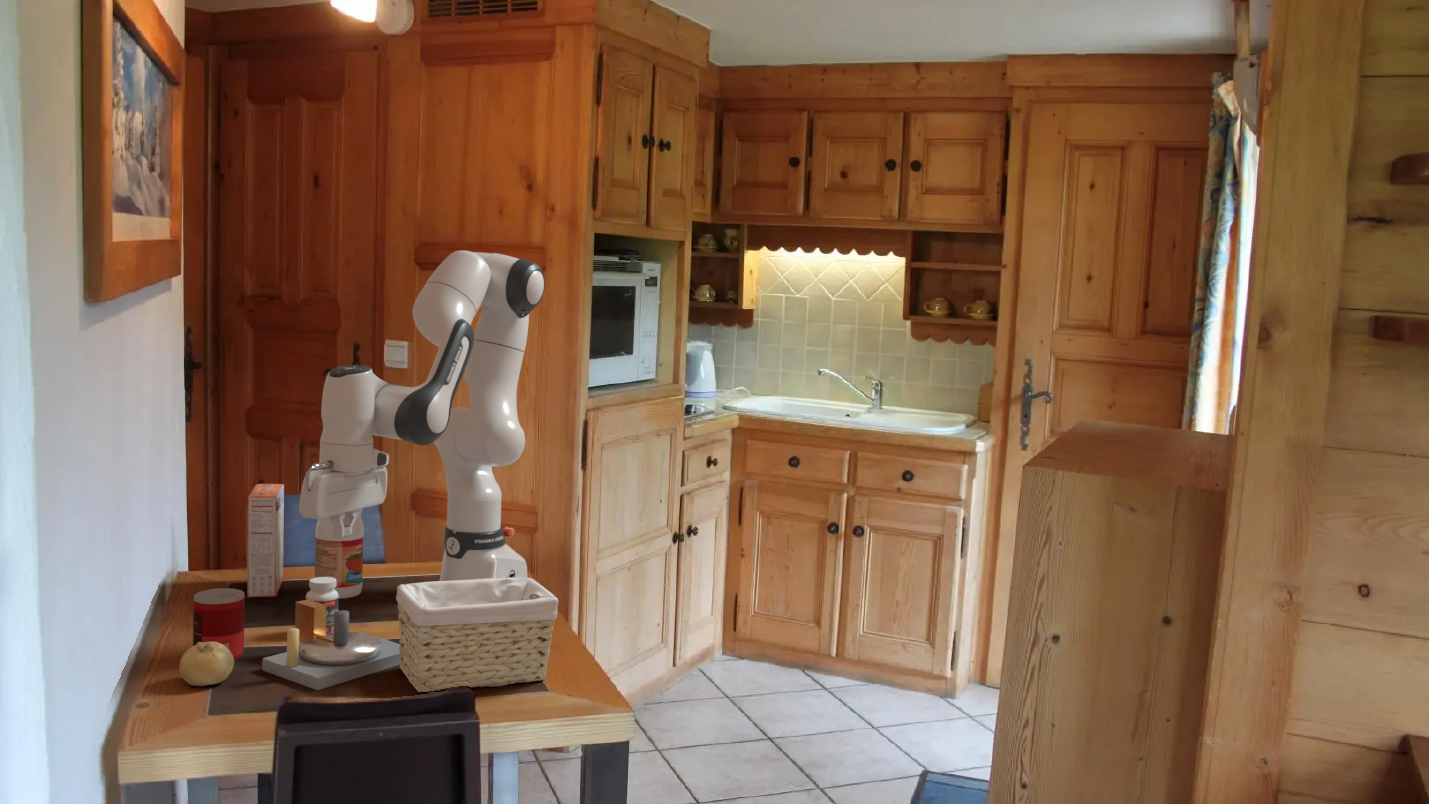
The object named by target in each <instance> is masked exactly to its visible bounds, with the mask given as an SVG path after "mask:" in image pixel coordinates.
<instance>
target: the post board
mask: <svg viewBox="0 0 1429 804" xmlns="http://www.w3.org/2000/svg"><path fill="white" fill-rule="evenodd" d="M349 627H350V611H349V610H345V609H343V610H341V609H340V610H338V611H335V612H334V639H333V643H334V644H337V645H343V644H347V643H348V639H349V632H350V628H349ZM357 633H365V632H363V631H358V632H357ZM365 634H367V633H365ZM286 635H287V637H286V651H285V652H281V653H277V654H274V655H271V656H266V657H263V658H262V662H261V663H262V665H261V666H262V668H261V671H264V672H266V673H269V674H271V675H274V676H277V677H280V678H282V679H285V680H287V681H291V682H294V683H297V684H298V685H302V686H303V687H307V688H310V689H313V690H315V691H321V690H324V689H326V688H329V687H333V686H336V685H340V684H342V683H346V682H349V681H352V680H355V679H358V678H361V677H365V676H368V675H371V674H374V673H378V672H381V671H384V670H387V669H390V668H393V667H397V666H400V643H397V642H394V641H391V640H388V639H385V638H381V637H378V636H376V637H377V638H379V639H380V640H381V652H380V654H379V655H378V656H377V657H375V658H373V659H371V660H368V661H365V662H360V663H355V664H347V665H323V664H315V663H311V662H308V661H305V660H303V659H302V658H301V657H300V642H299V629H298V628H295V627H291V628H287V632H286Z"/></svg>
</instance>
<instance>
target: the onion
mask: <svg viewBox="0 0 1429 804" xmlns="http://www.w3.org/2000/svg"><path fill="white" fill-rule="evenodd" d="M234 666H235V661H234V658H233V655H232V653H231V651H230V650H229V649H228V648H227V647H226V646H224V645H222V644H220V643H218V642H198V643H197V645H195V646H193V645H192V646H191V647H189V648H188V649H187V650H186V651H185V652H184V653H183V654H182V656H181V659H180V661H179V666H178V668H179V675H180V677H181V678H182V679H183V681H184V682H186V683H187V684H188V685H189V686H194V687H205V686H209V685H210V686H212V685H217V684H221V683H222V682H224V681H225V680H226V679H228V677H229V676H230V674H231V672H232V671H233V668H234Z"/></svg>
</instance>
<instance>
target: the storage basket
mask: <svg viewBox="0 0 1429 804" xmlns="http://www.w3.org/2000/svg"><path fill="white" fill-rule="evenodd" d="M534 580H535V579H533V578H531V577H527V578H489V579H474V580H456V581H439V580H435V581H422V582H413V583H412V582H411V583H405V584H403V583H401V584H398V586H397V588H396V595H395V596H396V597H395V600H396V601H397V610H398V628H399V629H398V630H399V632H398V633H399V640H398V641H399V643H398V644H400V665H399V669H400V670H401V672H402V673H403V674H404V675H405V677H406V678H407V679H408V682H409V683H410V684H411V685H412V686H413V688H415V690H416V692H417V693H420V692H429V691H435V690H440V689H445V688H450V687H458V686H469V687H470V688H477V687H480V688H484V687H502V686H507V685H509V684H510V685H512V684H517V683H530V682H536V681H537V682H539V681H544V680H545V679H546V677H547V670H548V663H549V658H550V652H551V649H550V647H551V645H552V638H553V631H554V625H555V621H556V619H557V617H558V606H559V599H558V597H556V596H555V595H554V594H553V593H552V592H550V591H549V590H548V589H546V587H544V586H542V585H541V583H538V581H536V580H535V581H534ZM429 693H430V692H429Z"/></svg>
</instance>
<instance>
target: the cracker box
mask: <svg viewBox="0 0 1429 804" xmlns="http://www.w3.org/2000/svg"><path fill="white" fill-rule="evenodd" d="M284 508H285V484H283V483H258V484H257V483H256V484H255V486H254V488H253V489H252V490H251V492H250V494H249V495H248V497H247V553H246V554H247V559H246V562H247V565H246V567H247V571H246V572H247V573H246V574H247V576H246V577H247V578H246V579H247V584H246V585H247V587H246V588H247V590H246V591H247V592H246V593H247V594H246V595H247V596H246V597H247V598H250V599H251V598H253V599H255V598H276V597H277V596H278V593H279V590H280V588H281V585H282V582H283V580H284V528H285V527H284V523H285V522H284V520H285V519H284V515H285V514H284V513H285V512H284V511H285V509H284Z"/></svg>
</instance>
